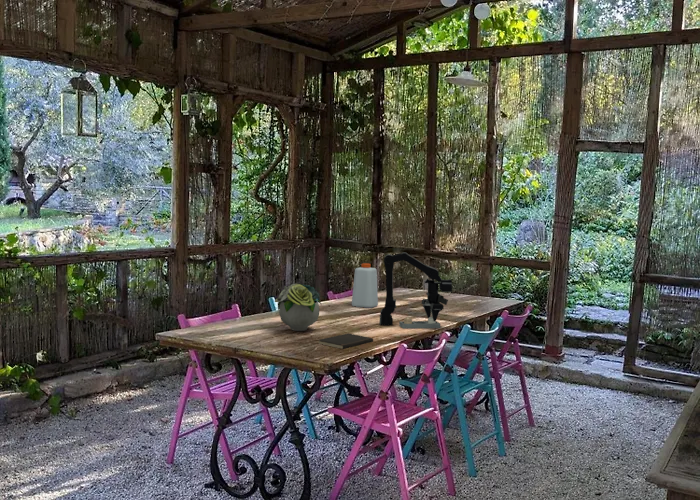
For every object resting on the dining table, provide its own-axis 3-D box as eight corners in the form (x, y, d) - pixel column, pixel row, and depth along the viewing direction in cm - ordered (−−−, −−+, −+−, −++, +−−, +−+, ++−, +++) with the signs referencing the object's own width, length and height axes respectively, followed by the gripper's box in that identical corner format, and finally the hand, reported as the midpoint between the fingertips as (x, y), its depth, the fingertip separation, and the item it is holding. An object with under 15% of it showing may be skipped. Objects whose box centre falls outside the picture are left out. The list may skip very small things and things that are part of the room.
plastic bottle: (359, 303, 433) (360, 262, 431) (379, 305, 427) (381, 263, 424) (349, 306, 420) (350, 263, 417) (370, 308, 413) (371, 265, 411)
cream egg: (436, 327, 351) (437, 317, 350) (429, 327, 350) (429, 317, 349) (433, 325, 355) (434, 315, 354) (426, 326, 354) (426, 316, 354)
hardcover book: (317, 344, 307) (317, 339, 307) (348, 337, 325) (348, 333, 325) (343, 350, 297) (343, 345, 297) (373, 342, 315) (373, 338, 314)
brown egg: (405, 328, 347) (405, 317, 346) (402, 326, 351) (402, 316, 350) (412, 327, 348) (413, 317, 347) (410, 326, 352) (410, 316, 351)
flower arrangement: (269, 326, 346) (270, 281, 344) (314, 324, 355) (315, 280, 353) (281, 335, 323) (282, 287, 321) (328, 333, 331) (330, 286, 330)
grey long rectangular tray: (403, 330, 345) (403, 324, 344) (399, 327, 352) (399, 321, 352) (440, 329, 350) (440, 323, 349) (435, 327, 357) (435, 320, 357)
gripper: (453, 293, 344) (452, 322, 345) (440, 289, 362) (439, 316, 363) (433, 293, 341) (432, 323, 342) (421, 289, 359) (420, 316, 360)
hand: (431, 319), depth 352 cm, fingers open, 9 cm apart
